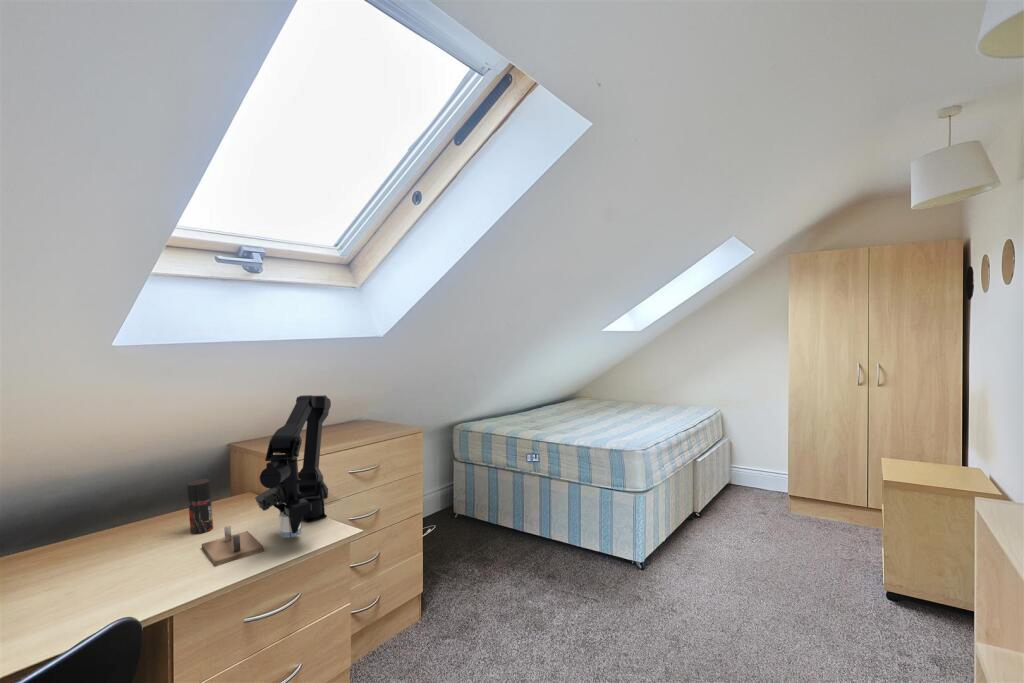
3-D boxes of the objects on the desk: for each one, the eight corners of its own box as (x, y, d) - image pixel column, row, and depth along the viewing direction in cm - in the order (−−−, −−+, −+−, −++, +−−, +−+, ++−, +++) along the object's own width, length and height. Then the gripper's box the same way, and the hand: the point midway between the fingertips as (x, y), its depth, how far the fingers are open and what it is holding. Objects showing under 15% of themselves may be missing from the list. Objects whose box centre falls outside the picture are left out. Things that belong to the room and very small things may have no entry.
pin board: (247, 534, 155) (246, 517, 155) (263, 550, 144) (262, 532, 144) (201, 548, 147) (200, 530, 147) (215, 566, 136) (213, 546, 135)
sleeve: (296, 528, 154) (295, 508, 153) (303, 533, 150) (302, 513, 150) (278, 533, 150) (277, 513, 150) (284, 539, 146) (283, 518, 146)
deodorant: (211, 532, 158) (207, 483, 157) (188, 535, 156) (185, 486, 155) (214, 524, 163) (211, 477, 163) (192, 528, 161) (189, 480, 160)
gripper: (247, 476, 151) (250, 529, 151) (268, 491, 137) (272, 549, 138) (287, 467, 158) (290, 518, 159) (310, 481, 144) (314, 536, 145)
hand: (290, 530), depth 150 cm, fingers closed on sleeve, 5 cm apart
